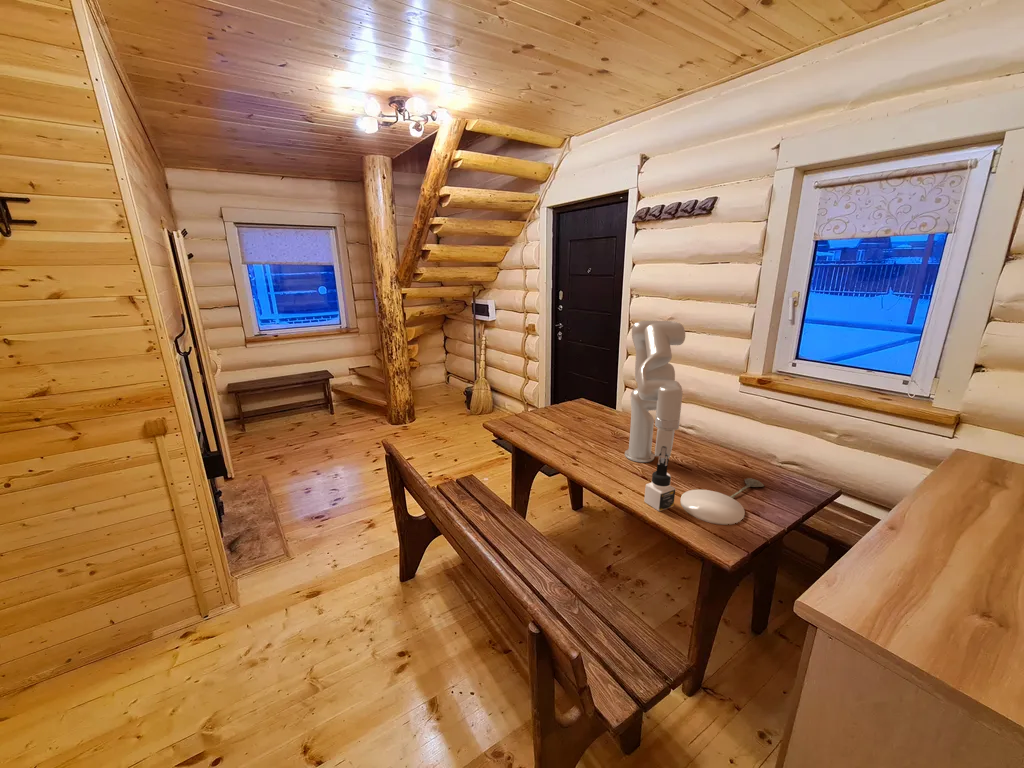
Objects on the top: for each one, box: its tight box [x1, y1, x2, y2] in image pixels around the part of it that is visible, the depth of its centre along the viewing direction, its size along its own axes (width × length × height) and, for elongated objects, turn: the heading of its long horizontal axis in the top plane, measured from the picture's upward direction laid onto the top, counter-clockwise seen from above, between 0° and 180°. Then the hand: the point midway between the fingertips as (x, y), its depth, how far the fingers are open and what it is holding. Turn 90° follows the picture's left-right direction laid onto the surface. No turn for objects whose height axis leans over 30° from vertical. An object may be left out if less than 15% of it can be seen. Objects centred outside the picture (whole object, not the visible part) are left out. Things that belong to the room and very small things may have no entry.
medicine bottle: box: [643, 470, 676, 512], centre depth 141 cm, size 7×7×12 cm
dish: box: [680, 489, 746, 526], centre depth 140 cm, size 20×20×1 cm
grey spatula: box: [729, 478, 765, 499], centre depth 151 cm, size 22×3×7 cm
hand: (662, 469), depth 139 cm, fingers open, 9 cm apart
